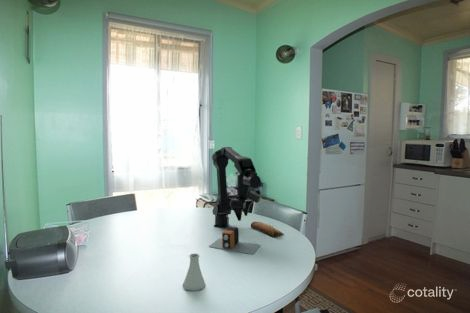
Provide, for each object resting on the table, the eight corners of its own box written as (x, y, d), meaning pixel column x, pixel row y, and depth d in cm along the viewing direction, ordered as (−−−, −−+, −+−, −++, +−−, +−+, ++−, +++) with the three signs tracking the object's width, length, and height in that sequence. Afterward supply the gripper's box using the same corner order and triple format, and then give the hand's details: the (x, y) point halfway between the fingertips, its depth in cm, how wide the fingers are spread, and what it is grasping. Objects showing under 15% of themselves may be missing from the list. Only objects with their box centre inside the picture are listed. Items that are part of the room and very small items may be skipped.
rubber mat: (208, 247, 125) (208, 246, 125) (219, 238, 135) (219, 238, 135) (252, 254, 118) (252, 253, 118) (260, 245, 128) (260, 244, 128)
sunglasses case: (286, 234, 143) (281, 224, 141) (277, 244, 140) (272, 233, 137) (262, 225, 158) (257, 215, 155) (253, 233, 154) (248, 224, 152)
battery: (238, 227, 130) (230, 234, 121) (239, 242, 130) (230, 250, 121) (229, 226, 131) (220, 233, 122) (230, 241, 132) (221, 248, 122)
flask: (183, 280, 96) (184, 250, 95) (205, 279, 96) (206, 250, 96) (181, 292, 89) (181, 260, 88) (205, 291, 89) (205, 259, 89)
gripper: (254, 189, 122) (253, 225, 123) (265, 183, 140) (264, 215, 141) (229, 187, 126) (229, 222, 127) (243, 181, 144) (243, 212, 145)
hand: (242, 218), depth 135 cm, fingers open, 9 cm apart
